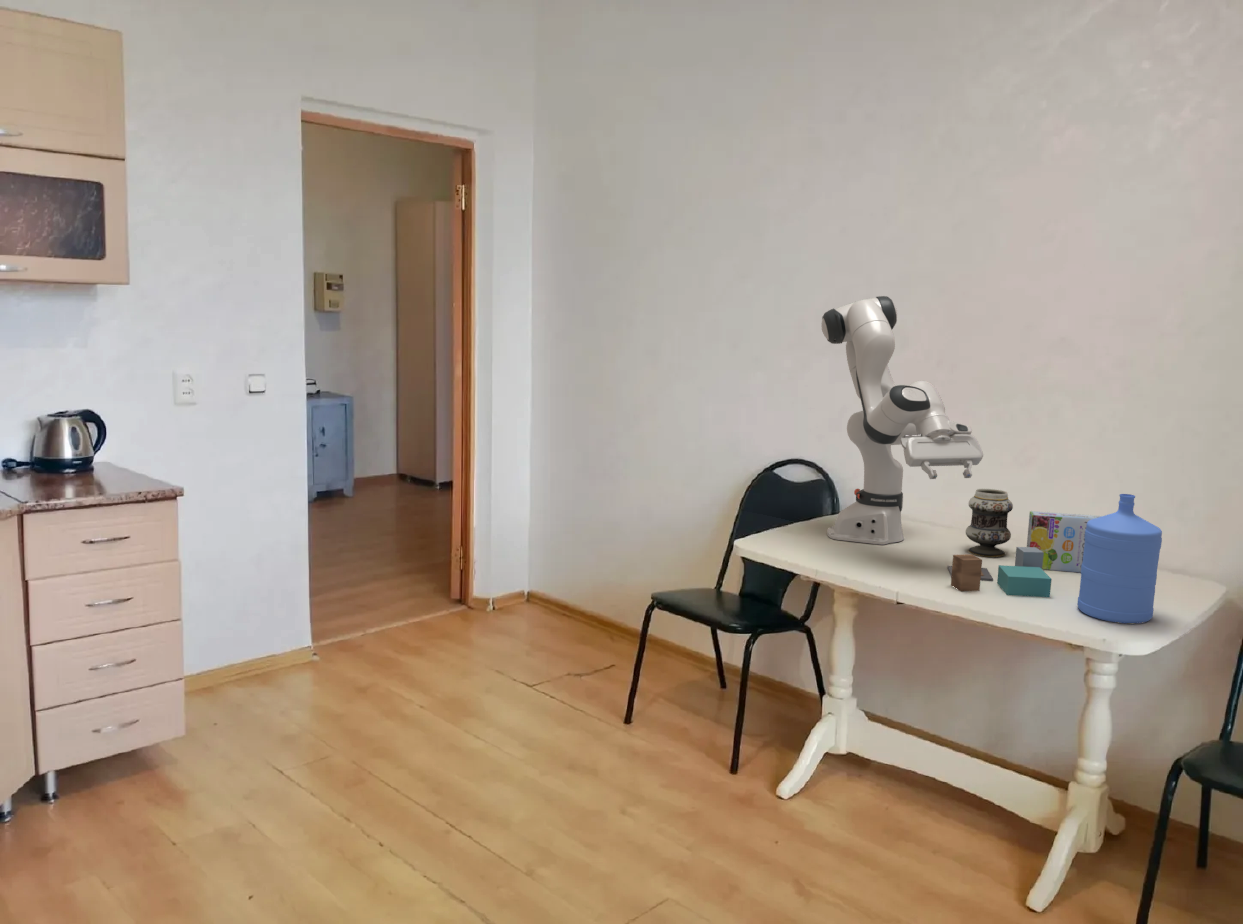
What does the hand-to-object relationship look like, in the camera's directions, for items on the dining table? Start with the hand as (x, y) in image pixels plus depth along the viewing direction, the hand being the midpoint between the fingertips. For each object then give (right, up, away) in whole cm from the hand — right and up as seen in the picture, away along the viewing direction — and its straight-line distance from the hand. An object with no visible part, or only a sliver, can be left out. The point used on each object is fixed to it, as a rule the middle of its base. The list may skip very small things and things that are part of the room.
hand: (951, 477), depth 246 cm
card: (+7, -26, +5) cm, 27 cm away
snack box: (+36, -25, +12) cm, 45 cm away
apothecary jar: (+19, -22, +27) cm, 40 cm away
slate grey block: (+20, -26, +2) cm, 33 cm away
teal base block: (+15, -28, -7) cm, 33 cm away
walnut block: (+1, -28, -7) cm, 28 cm away
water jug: (+29, -31, -24) cm, 49 cm away
